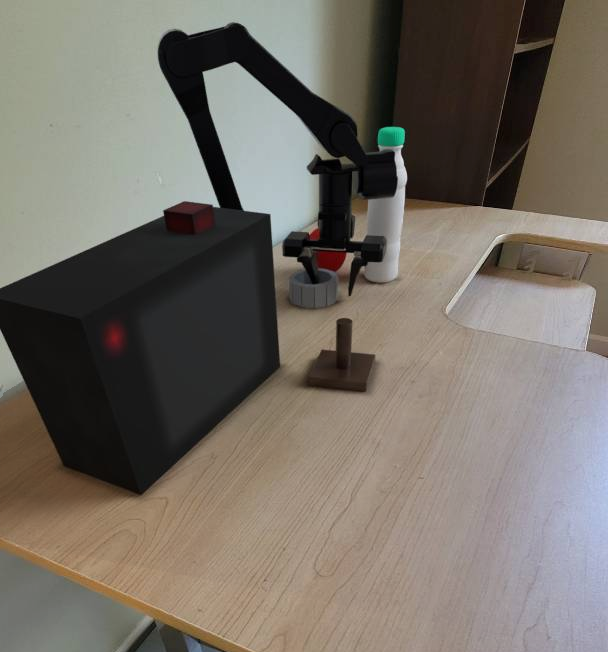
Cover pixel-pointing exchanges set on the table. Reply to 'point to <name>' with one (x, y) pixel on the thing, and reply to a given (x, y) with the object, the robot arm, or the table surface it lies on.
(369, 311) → the table surface
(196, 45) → the robot arm
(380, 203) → the water bottle
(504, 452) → the table surface
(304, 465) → the table surface
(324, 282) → the tape
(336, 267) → the ornament
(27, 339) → the speaker
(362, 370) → the stand
